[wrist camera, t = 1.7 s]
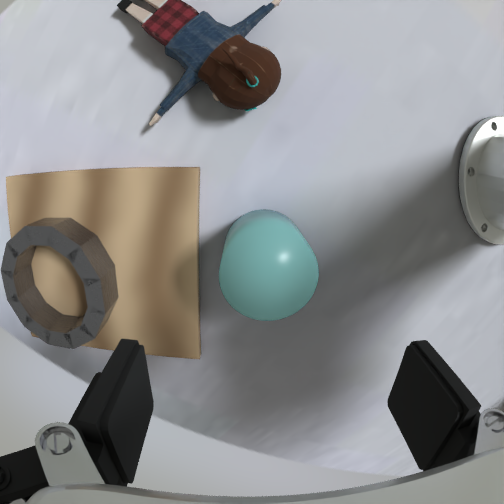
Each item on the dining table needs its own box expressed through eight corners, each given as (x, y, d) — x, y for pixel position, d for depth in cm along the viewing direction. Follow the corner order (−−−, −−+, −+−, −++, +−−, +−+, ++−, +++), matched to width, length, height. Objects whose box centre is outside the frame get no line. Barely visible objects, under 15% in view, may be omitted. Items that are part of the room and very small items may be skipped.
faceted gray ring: (111, 217, 23) (95, 226, 20) (124, 336, 26) (113, 355, 23) (14, 217, 22) (-7, 226, 19) (33, 322, 25) (17, 337, 23)
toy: (83, 65, 21) (205, 170, 23) (53, 51, 16) (192, 170, 19) (194, -44, 18) (329, 46, 20) (184, -73, 13) (344, 22, 16)
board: (200, 167, 23) (198, 167, 22) (200, 352, 28) (199, 359, 27) (12, 175, 22) (6, 177, 21) (36, 331, 27) (31, 336, 26)
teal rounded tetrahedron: (305, 211, 24) (324, 230, 18) (298, 284, 26) (312, 321, 20) (225, 207, 24) (219, 225, 18) (223, 282, 26) (218, 319, 20)
